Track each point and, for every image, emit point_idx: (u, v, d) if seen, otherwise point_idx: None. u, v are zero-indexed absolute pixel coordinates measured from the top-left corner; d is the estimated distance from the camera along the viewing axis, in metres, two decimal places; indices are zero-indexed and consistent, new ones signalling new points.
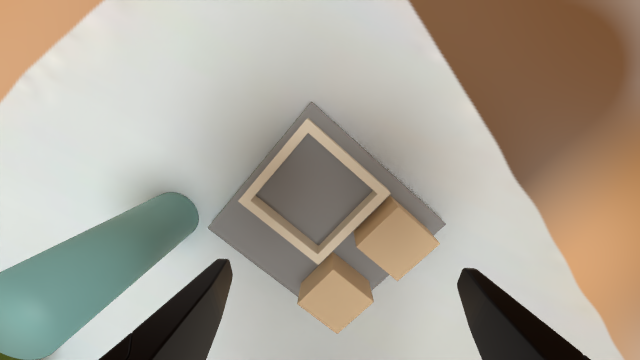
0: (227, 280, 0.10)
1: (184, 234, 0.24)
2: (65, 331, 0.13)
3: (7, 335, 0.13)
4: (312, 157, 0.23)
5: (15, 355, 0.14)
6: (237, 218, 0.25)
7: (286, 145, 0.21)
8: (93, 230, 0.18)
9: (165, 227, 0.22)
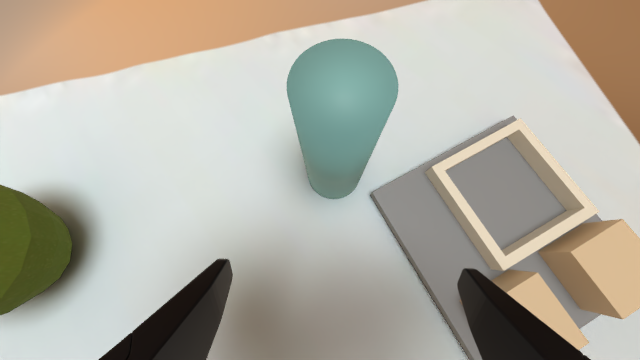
0: (227, 280, 0.10)
1: (356, 184, 0.22)
2: (387, 116, 0.11)
3: (322, 96, 0.11)
4: (505, 159, 0.24)
5: (311, 122, 0.11)
6: (409, 192, 0.23)
7: (496, 133, 0.23)
8: None
9: None
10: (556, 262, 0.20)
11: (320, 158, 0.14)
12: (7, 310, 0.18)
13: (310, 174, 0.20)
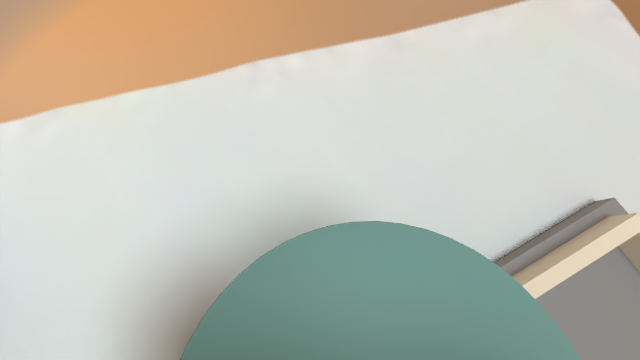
0: None
1: None
2: None
3: None
4: (609, 274, 0.15)
5: None
6: None
7: (601, 239, 0.14)
8: None
9: None
10: None
11: None
12: None
13: None
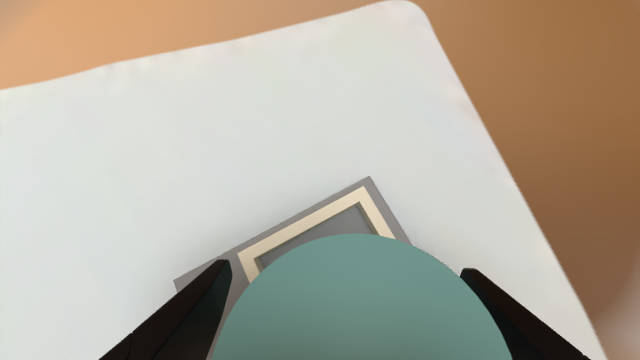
0: (227, 280, 0.10)
1: None
2: None
3: None
4: None
5: None
6: None
7: (328, 206, 0.17)
8: None
9: None
10: None
11: None
12: None
13: None
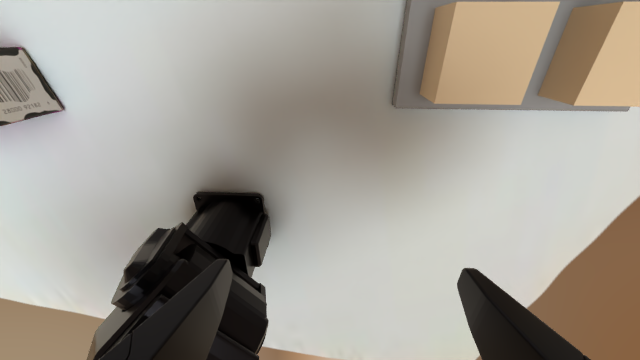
0: (227, 280, 0.10)
1: None
2: None
3: None
4: None
5: None
6: None
7: None
8: None
9: None
10: (580, 25, 0.15)
11: None
12: None
13: None
